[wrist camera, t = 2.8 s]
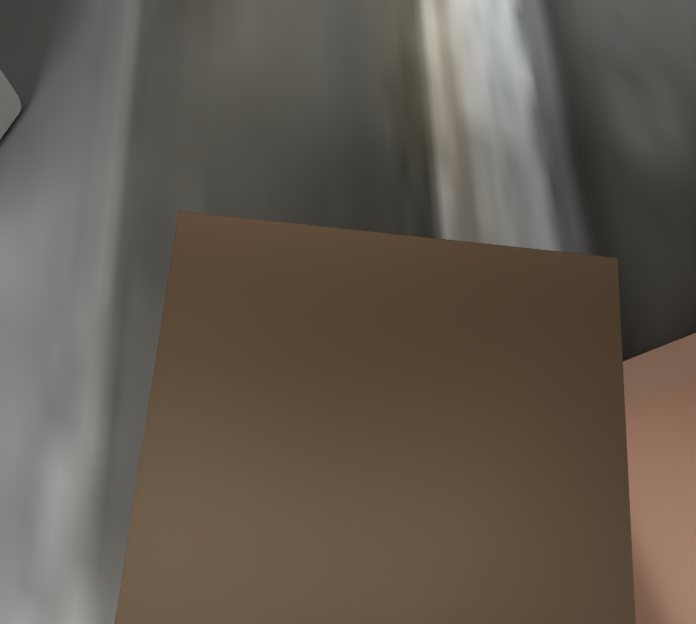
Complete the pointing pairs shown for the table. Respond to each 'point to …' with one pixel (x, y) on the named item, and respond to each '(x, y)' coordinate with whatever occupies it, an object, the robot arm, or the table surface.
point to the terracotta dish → (663, 480)
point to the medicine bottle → (7, 104)
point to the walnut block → (381, 434)
